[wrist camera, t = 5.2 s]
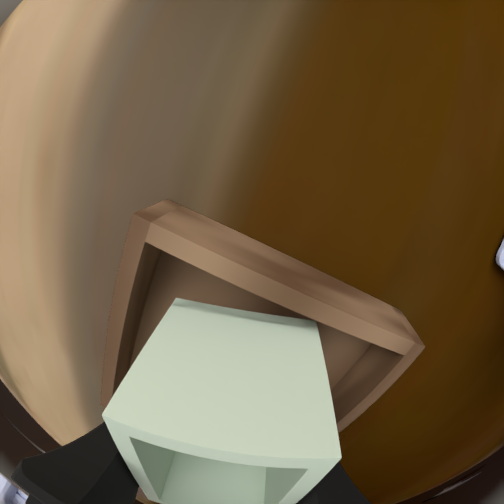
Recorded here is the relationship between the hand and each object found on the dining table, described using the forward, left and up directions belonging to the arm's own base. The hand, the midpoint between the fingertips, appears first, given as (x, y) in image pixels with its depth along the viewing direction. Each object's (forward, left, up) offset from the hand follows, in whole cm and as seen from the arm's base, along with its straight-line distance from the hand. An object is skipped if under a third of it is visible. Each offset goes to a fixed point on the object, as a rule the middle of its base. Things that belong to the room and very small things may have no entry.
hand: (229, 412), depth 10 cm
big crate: (0, 0, -4) cm, 4 cm away
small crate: (0, 0, -2) cm, 2 cm away
